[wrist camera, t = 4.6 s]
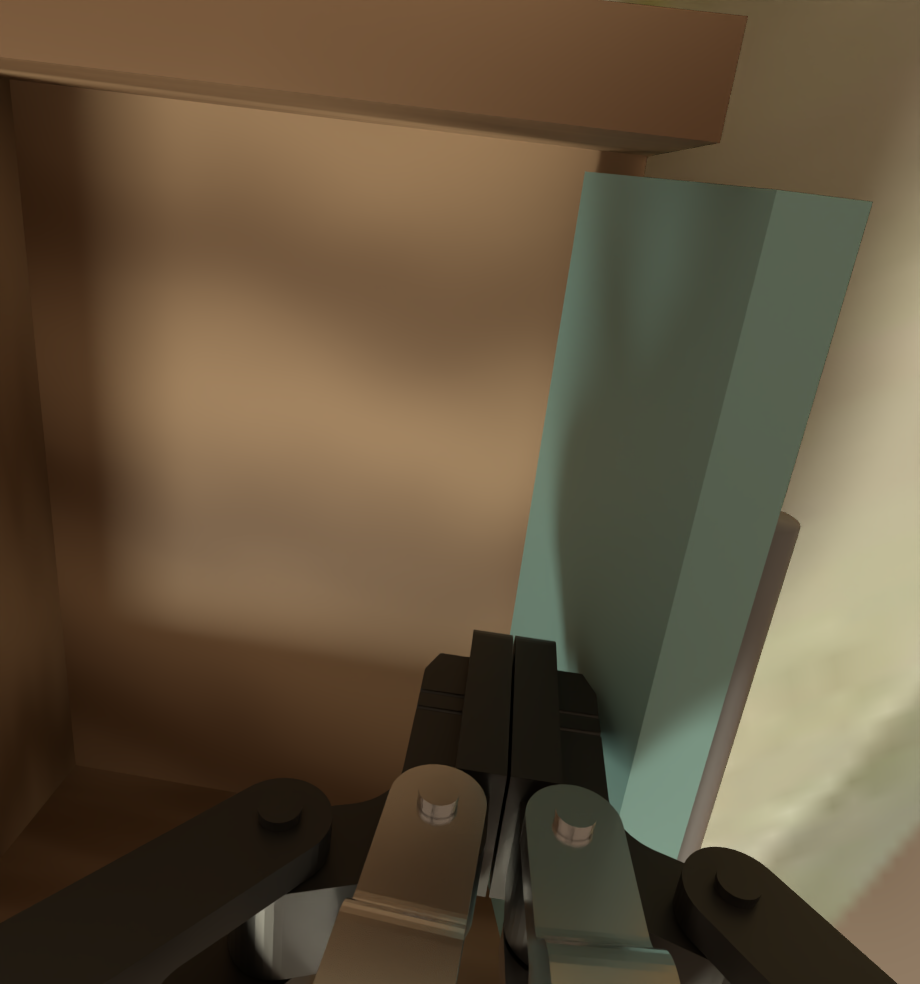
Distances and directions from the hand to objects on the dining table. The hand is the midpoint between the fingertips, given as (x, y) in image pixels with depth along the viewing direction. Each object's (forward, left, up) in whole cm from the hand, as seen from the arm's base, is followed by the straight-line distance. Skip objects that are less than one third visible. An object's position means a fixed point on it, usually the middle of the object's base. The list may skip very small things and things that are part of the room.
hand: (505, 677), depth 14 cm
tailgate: (0, +1, -5) cm, 5 cm away
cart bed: (0, -6, -7) cm, 9 cm away
